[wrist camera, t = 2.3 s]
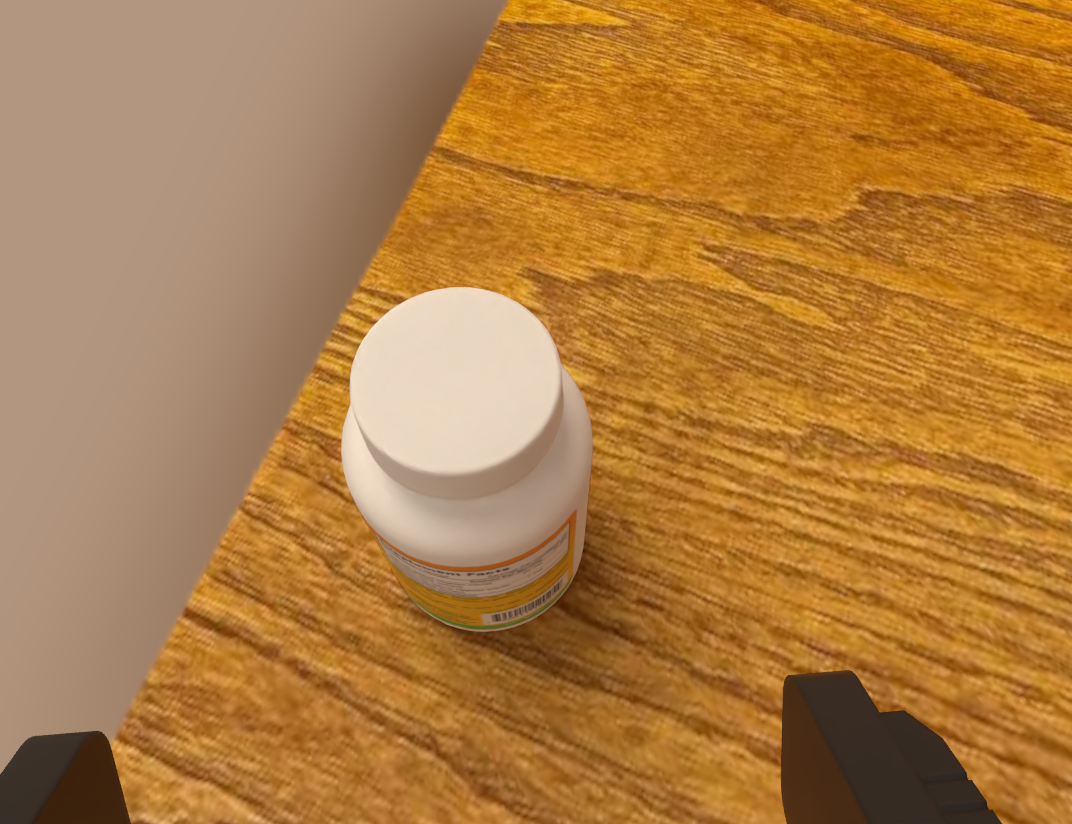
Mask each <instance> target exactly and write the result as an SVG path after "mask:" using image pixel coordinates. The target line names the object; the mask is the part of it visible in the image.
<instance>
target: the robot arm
mask: <svg viewBox="0 0 1072 824" xmlns="http://www.w3.org/2000/svg"><path fill="white" fill-rule="evenodd" d="M781 792H782V800H783V807H784V813H785V817H786V822H787V824H1002V823H1001V822H1000V820H999V819H998V817H997V816H996V814H995V813H994V812H993V810H989V809H988V807H987V801H986V800H985V799H984V797H983V796H982V794H981V793H980V791H979V790H978V789H977V787H976V786H975V784H974V783H973V781H972V780H968V778H967V773H966V771H965V770H964V768H963V767H962V766H961V764H960V763H959V761H958V760H957V758H956V757H955V756H954V754H953V753H952V751H951V750H950V748H949V747H948V745H947V744H946V743H945V741H944V740H943V738H941V737H940V736H939V735H937V734H936V733H934V732H933V731H932V730H930V729H929V728H928V727H926V726H925V725H923V724H922V723H921V722H919V721H918V720H917V719H915V718H914V717H913V716H911V715H910V714H908V713H907V712H906V711H892V712H880V713H879V711H878V709H877V708H876V706H875V705H874V703H873V701H872V700H871V698H870V697H869V695H868V693H867V692H866V690H865V689H864V687H863V685H862V684H861V682H860V680H859V679H858V677H857V676H856V675H855V674H854V673H853V672H852V671H850V670H844V671H833V672H821V673H809V674H797V675H788V676H787V677H786V679H785V681H784V687H783V713H782V754H781ZM0 824H131V823H130V819H129V815H128V811H127V807H126V804H125V800H124V796H123V792H122V788H121V784H120V781H119V777H118V773H117V769H116V765H115V761H114V758H113V754H112V750H111V747H110V744H109V741H108V739H107V737H106V736H105V735H104V734H103V733H102V732H100V731H91V732H79V733H67V734H55V735H43V736H33V737H31V738H29V739H27V740H26V741H25V742H24V743H23V744H22V746H21V747H20V748H19V749H18V751H17V752H16V754H15V755H14V757H13V758H12V760H11V761H10V762H9V763H8V765H7V766H6V768H5V769H4V770H3V772H2V773H1V774H0Z"/></svg>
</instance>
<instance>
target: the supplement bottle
mask: <svg viewBox="0 0 1072 824" xmlns="http://www.w3.org/2000/svg"><path fill="white" fill-rule="evenodd" d="M350 400H351V404H350V407H349V410H348V413H347V416H346V419H345V422H344V427H343V432H342V446H341V454H342V465H343V470H344V475H345V479H346V482H347V485H348V488H349V490H350V493H351V495H352V497H353V499H354V501H355V504H356V506H357V508H358V510H359V511H360V513H361V515H362V517H363V518H364V520H365V522H366V524H367V526H368V527H369V529H370V531H371V533H372V534H373V536H374V538H375V540H376V542H377V544H378V546H379V547H380V549H381V551H382V553H383V555H384V557H385V558H386V560H387V562H388V564H389V566H390V568H391V570H392V571H393V573H394V575H395V576H396V578H397V580H398V582H399V583H400V585H401V586H402V588H403V589H404V591H405V592H406V594H407V595H408V596H409V597H410V598H411V599H412V600H413V601H414V602H415V603H416V604H417V605H418V606H419V607H420V608H421V609H422V610H423V611H425V612H426V613H427V614H429V615H430V616H432V617H434V618H435V619H437V620H439V621H441V622H443V623H445V624H447V625H450V626H453V627H455V628H459V629H463V630H468V631H479V632H488V631H499V630H505V629H509V628H513V627H516V626H519V625H522V624H524V623H526V622H529V621H531V620H533V619H534V618H536V617H538V616H539V615H541V614H542V613H544V612H545V611H546V610H548V609H549V608H550V607H551V606H552V605H553V604H554V603H555V602H556V601H557V600H558V599H559V598H560V597H561V596H562V595H563V594H564V592H565V591H566V589H567V588H568V587H569V585H570V583H571V582H572V580H573V578H574V576H575V574H576V572H577V569H578V566H579V563H580V560H581V556H582V552H583V546H584V540H585V530H586V519H587V508H588V497H589V487H590V478H591V469H592V455H593V446H592V429H591V423H590V417H589V413H588V410H587V407H586V404H585V401H584V399H583V396H582V394H581V392H580V390H579V388H578V386H577V385H576V383H575V381H574V380H573V379H572V377H571V376H570V374H569V373H568V372H567V370H566V369H565V368H564V367H563V366H562V365H561V362H560V358H559V354H558V351H557V348H556V346H555V343H554V341H553V339H552V337H551V335H550V334H549V332H548V331H547V329H546V328H545V326H544V325H543V324H542V323H541V322H540V321H539V320H538V319H537V318H536V317H535V316H534V315H533V314H532V313H531V312H530V311H529V310H528V309H526V308H525V307H523V306H522V305H521V304H519V303H517V302H516V301H514V300H512V299H510V298H508V297H505V296H503V295H501V294H499V293H495V292H492V291H488V290H483V289H478V288H471V287H451V288H445V289H437V290H433V291H429V292H426V293H422V294H420V295H417V296H415V297H412V298H410V299H408V300H406V301H404V302H402V303H401V304H399V305H397V306H396V307H394V308H393V309H391V310H390V311H389V312H387V313H386V314H385V315H384V316H383V317H382V318H381V319H380V320H379V321H378V322H377V323H376V324H375V325H374V326H373V327H372V328H371V329H370V331H369V332H368V333H367V335H366V336H365V338H364V339H363V341H362V342H361V344H360V346H359V348H358V350H357V353H356V356H355V358H354V361H353V365H352V368H351V375H350Z"/></svg>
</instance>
